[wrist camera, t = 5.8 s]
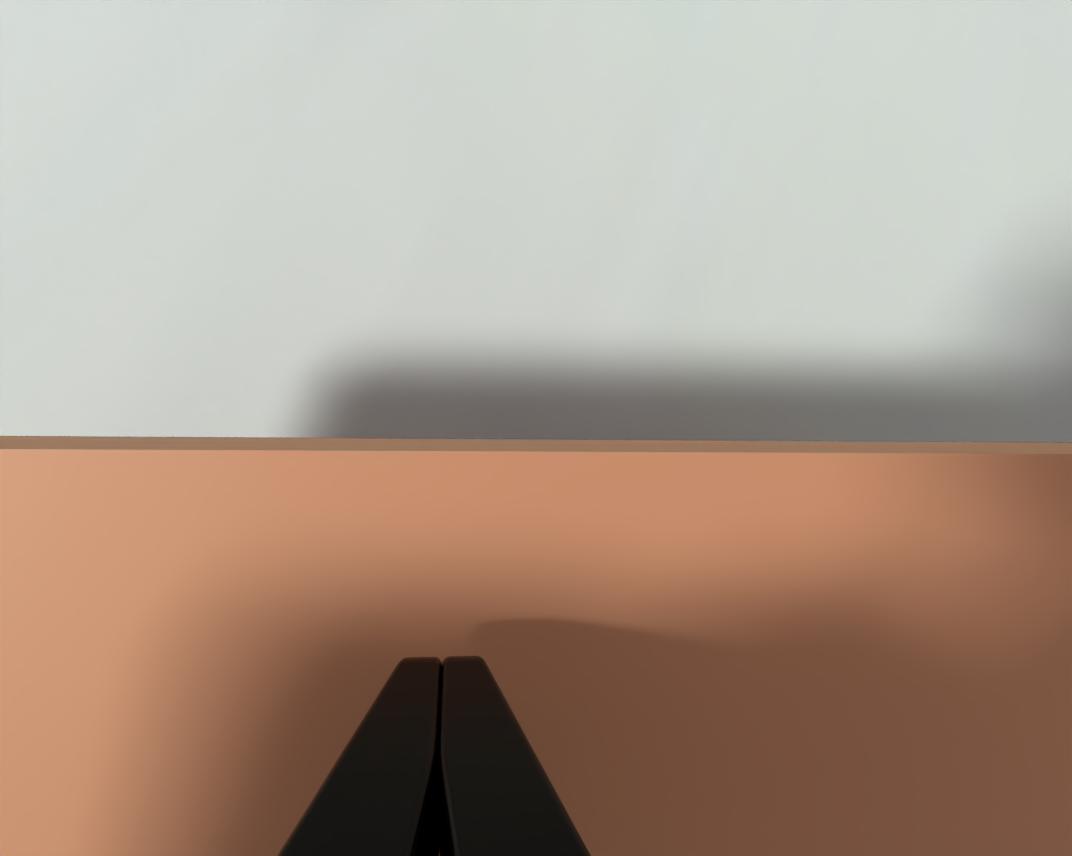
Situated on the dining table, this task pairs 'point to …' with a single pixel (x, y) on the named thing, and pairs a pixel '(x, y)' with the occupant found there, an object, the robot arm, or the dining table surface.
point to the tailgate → (543, 635)
